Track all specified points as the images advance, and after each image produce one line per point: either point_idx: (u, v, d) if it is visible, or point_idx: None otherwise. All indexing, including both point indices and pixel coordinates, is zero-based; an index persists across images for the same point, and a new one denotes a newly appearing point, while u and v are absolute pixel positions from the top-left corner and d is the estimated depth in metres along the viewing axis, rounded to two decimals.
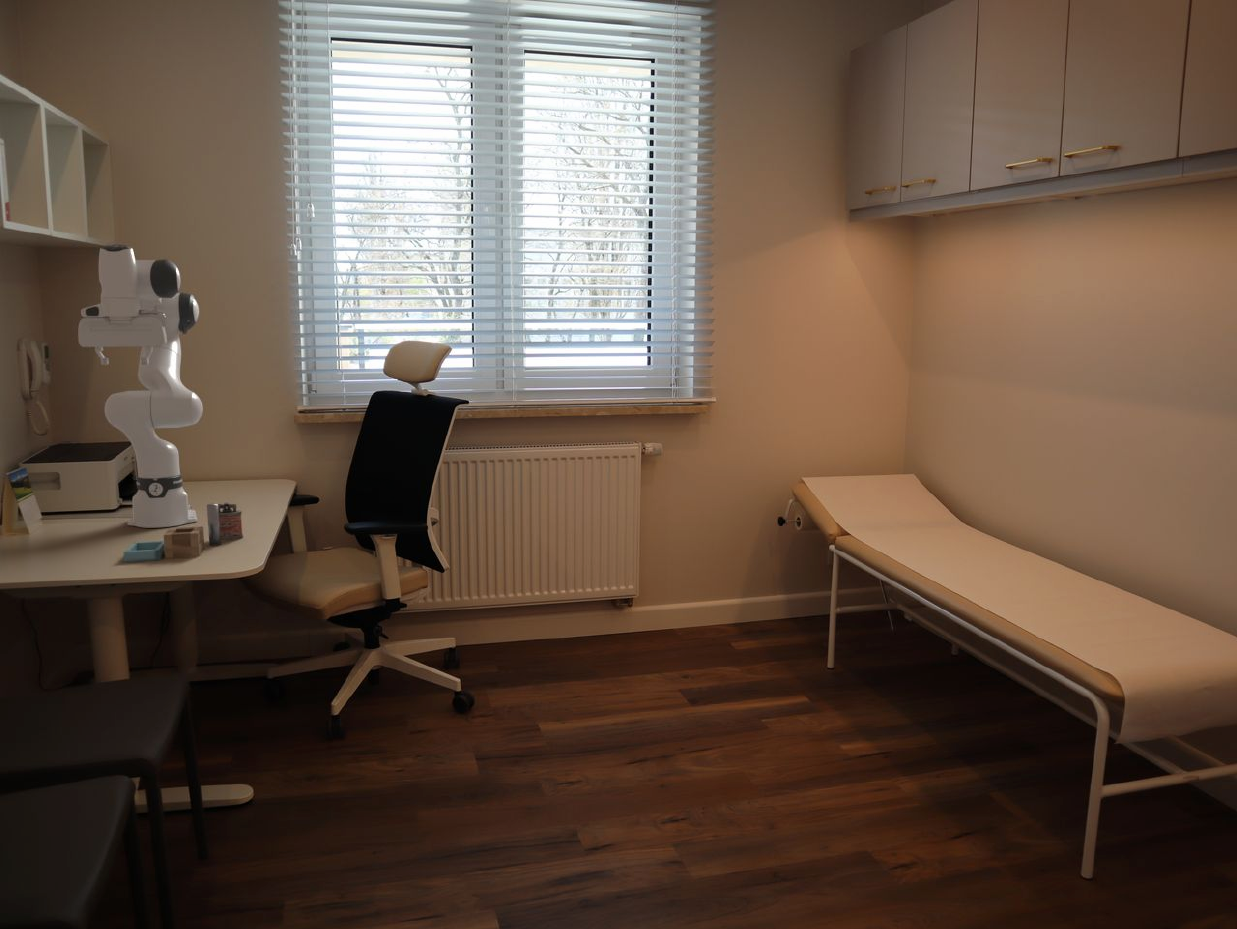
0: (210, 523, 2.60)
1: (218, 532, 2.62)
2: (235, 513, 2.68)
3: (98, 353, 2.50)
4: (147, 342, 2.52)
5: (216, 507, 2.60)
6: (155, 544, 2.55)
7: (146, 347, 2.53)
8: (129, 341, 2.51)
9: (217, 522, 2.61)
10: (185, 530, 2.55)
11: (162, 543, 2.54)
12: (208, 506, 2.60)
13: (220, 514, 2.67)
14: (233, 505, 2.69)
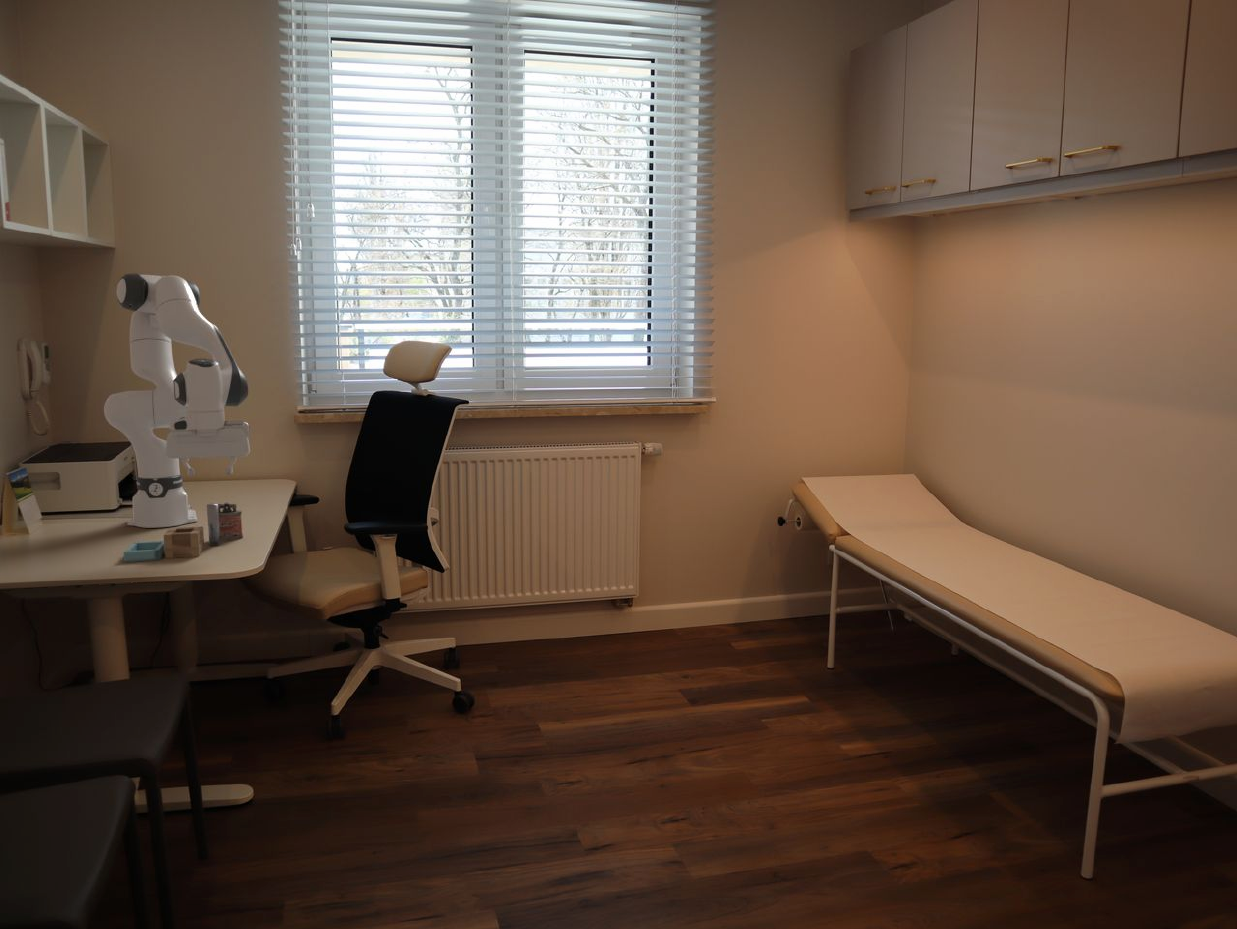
0: (210, 523, 2.60)
1: (218, 532, 2.62)
2: (235, 513, 2.68)
3: (185, 464, 2.57)
4: (232, 453, 2.58)
5: (216, 507, 2.60)
6: (155, 544, 2.55)
7: (231, 457, 2.59)
8: (215, 452, 2.57)
9: (217, 522, 2.61)
10: (185, 530, 2.55)
11: (162, 543, 2.54)
12: (208, 506, 2.60)
13: (220, 514, 2.67)
14: (233, 505, 2.69)
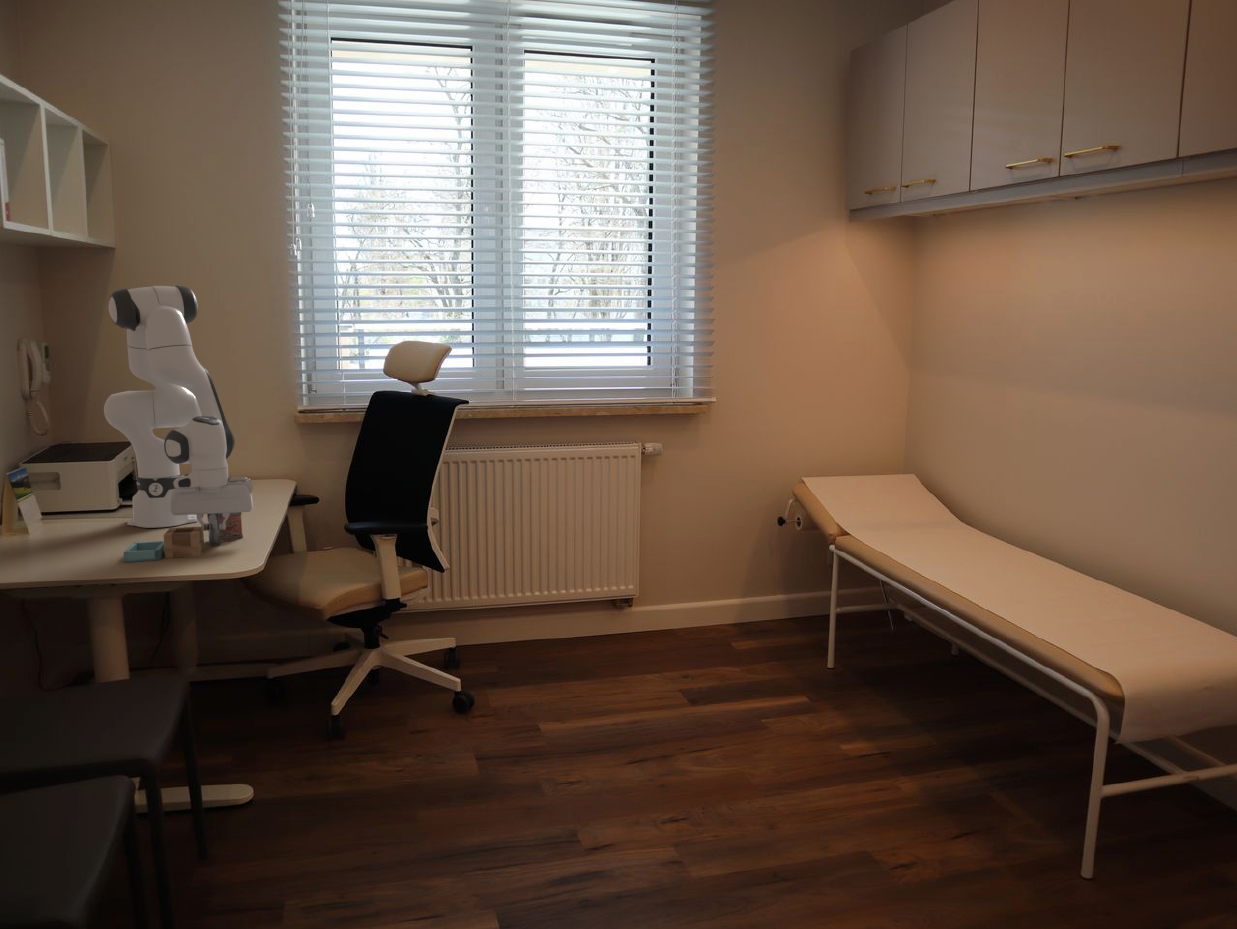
0: (210, 523, 2.60)
1: (218, 532, 2.62)
2: (235, 513, 2.68)
3: (199, 520, 2.60)
4: (235, 509, 2.61)
5: None
6: (155, 544, 2.55)
7: (224, 514, 2.61)
8: (218, 509, 2.60)
9: (217, 522, 2.61)
10: (185, 530, 2.55)
11: (162, 543, 2.54)
12: None
13: (220, 514, 2.67)
14: None
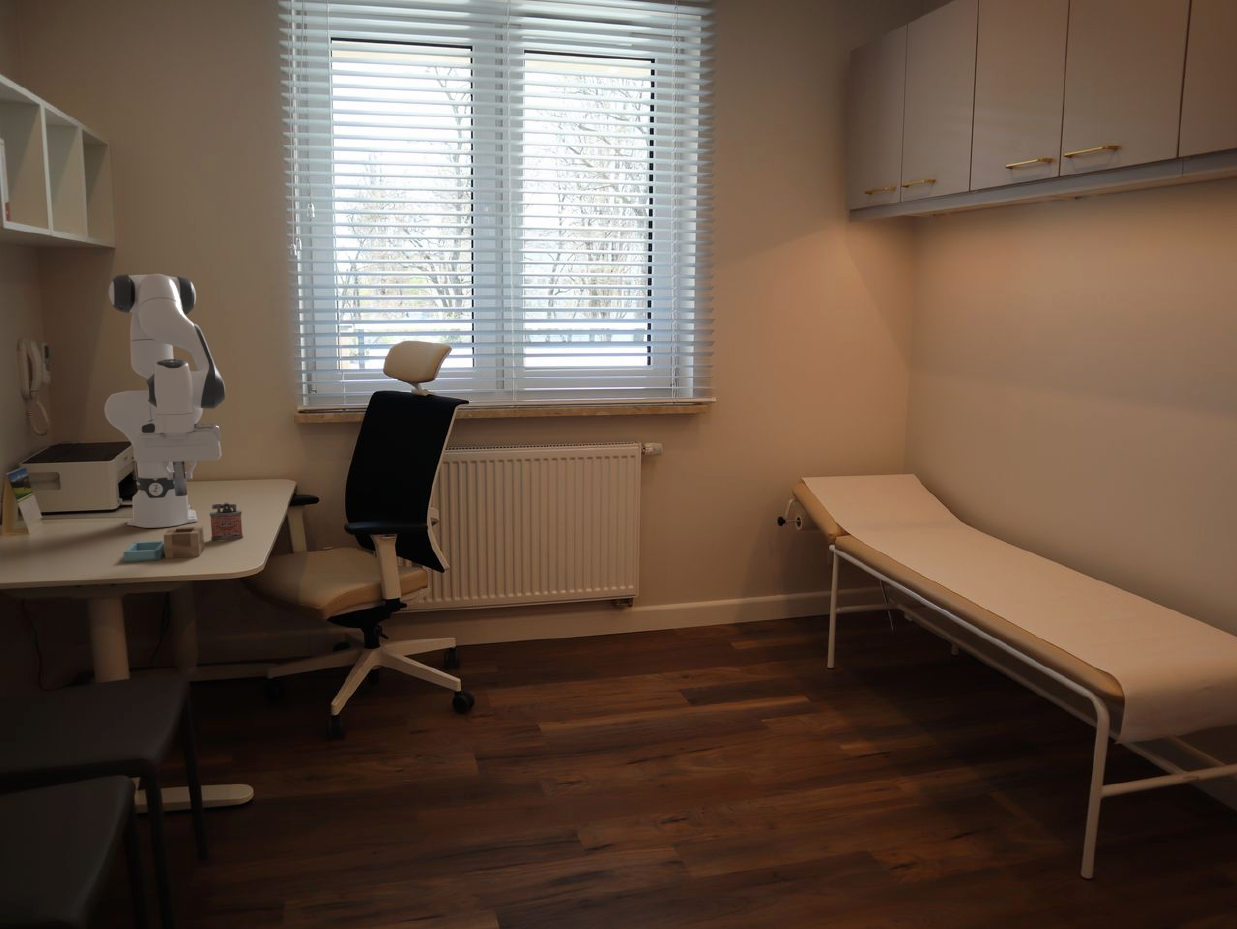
0: (176, 472, 2.49)
1: (184, 481, 2.50)
2: (235, 513, 2.68)
3: (164, 468, 2.48)
4: (202, 457, 2.49)
5: None
6: (155, 544, 2.55)
7: (190, 462, 2.50)
8: (184, 456, 2.48)
9: (183, 471, 2.50)
10: (185, 530, 2.55)
11: (162, 543, 2.54)
12: None
13: (220, 514, 2.67)
14: (233, 505, 2.69)
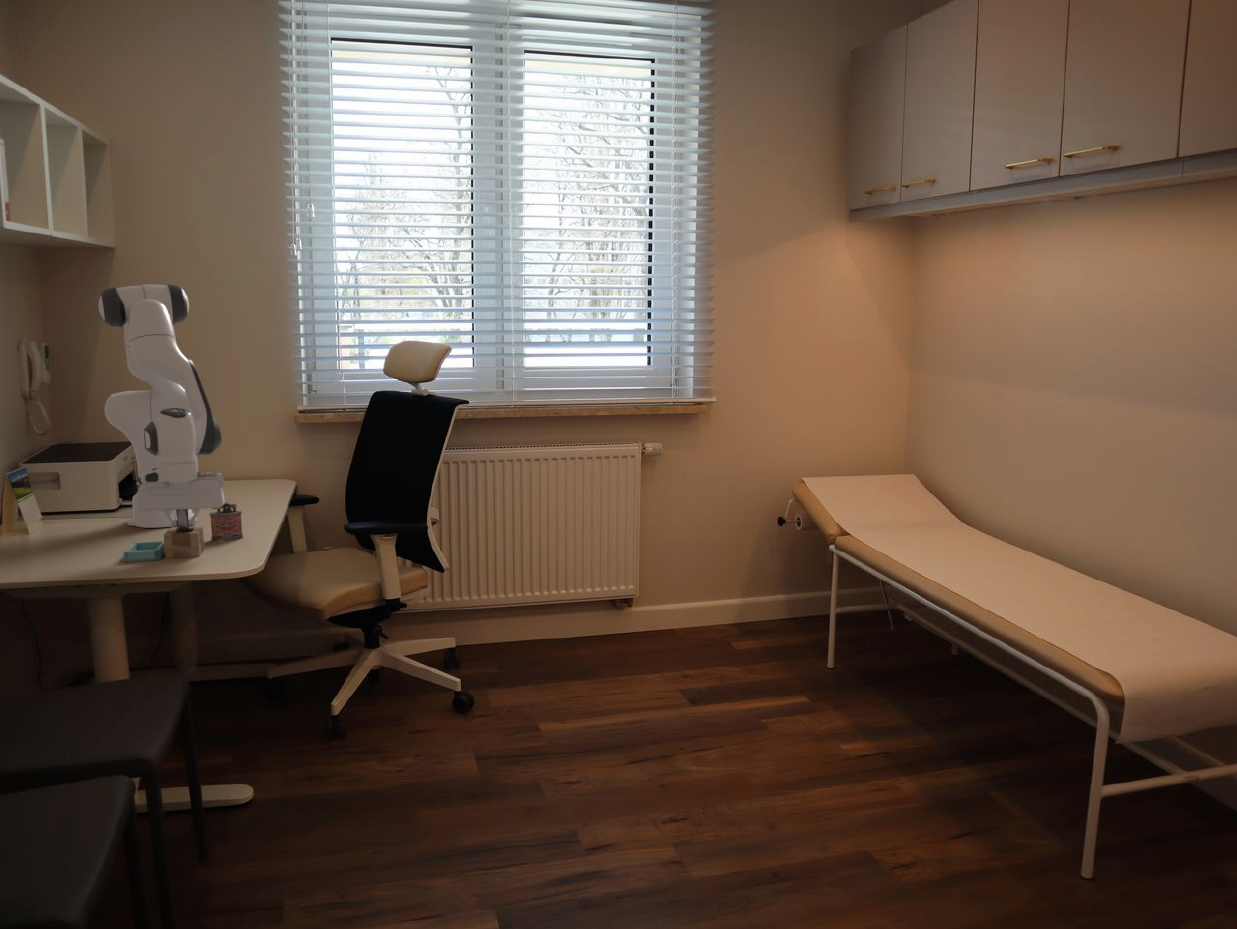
0: (179, 519, 2.51)
1: (187, 529, 2.52)
2: (235, 513, 2.68)
3: (168, 516, 2.50)
4: (205, 505, 2.51)
5: None
6: (155, 544, 2.55)
7: (193, 509, 2.51)
8: (188, 504, 2.50)
9: (186, 518, 2.51)
10: None
11: (162, 543, 2.54)
12: None
13: (220, 514, 2.67)
14: (233, 505, 2.69)
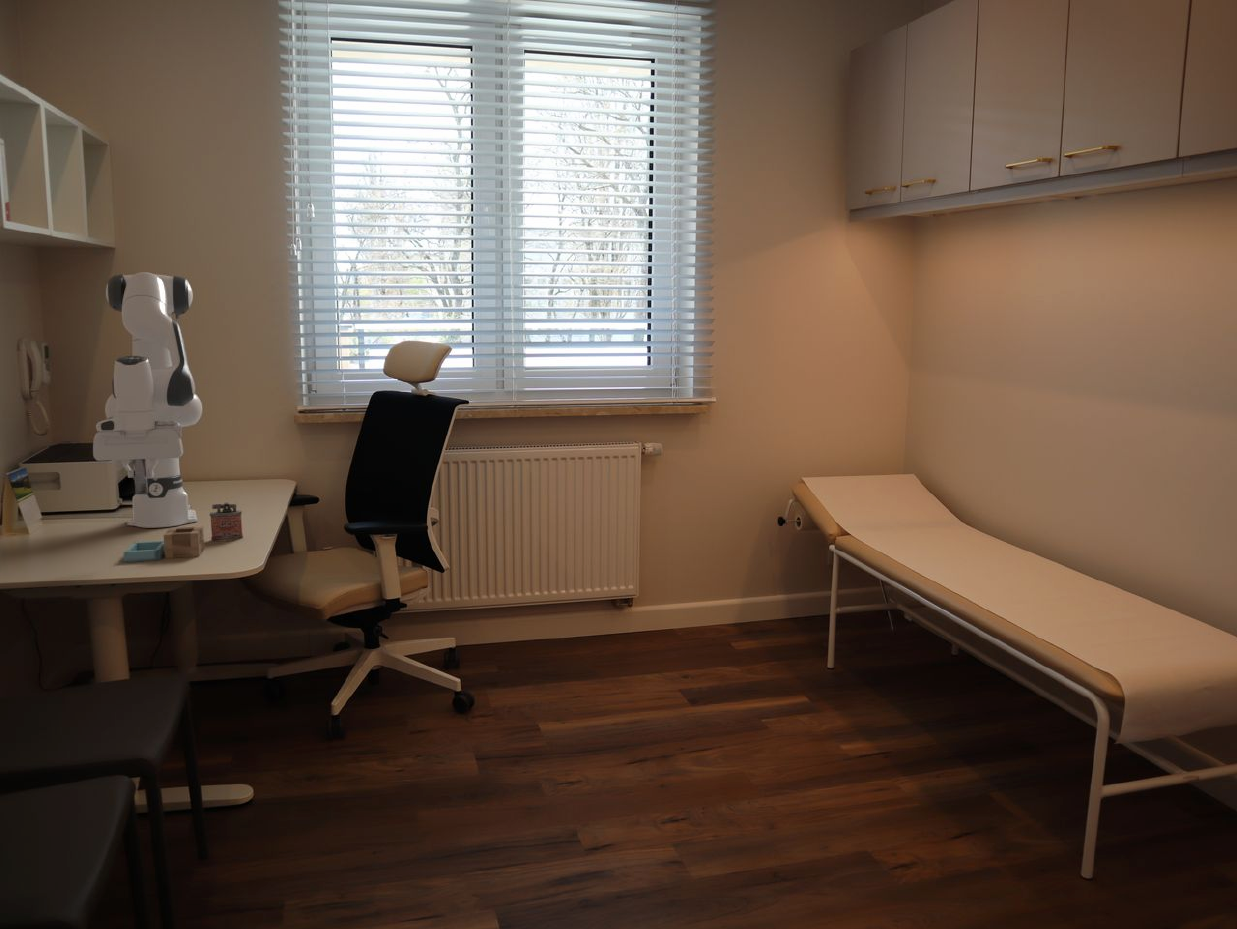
0: (136, 470, 2.46)
1: (145, 479, 2.47)
2: (235, 513, 2.68)
3: (125, 466, 2.46)
4: (163, 455, 2.47)
5: None
6: (155, 544, 2.55)
7: (151, 460, 2.47)
8: (145, 454, 2.46)
9: (144, 469, 2.47)
10: (185, 530, 2.55)
11: (162, 543, 2.54)
12: None
13: (220, 514, 2.67)
14: (233, 505, 2.69)
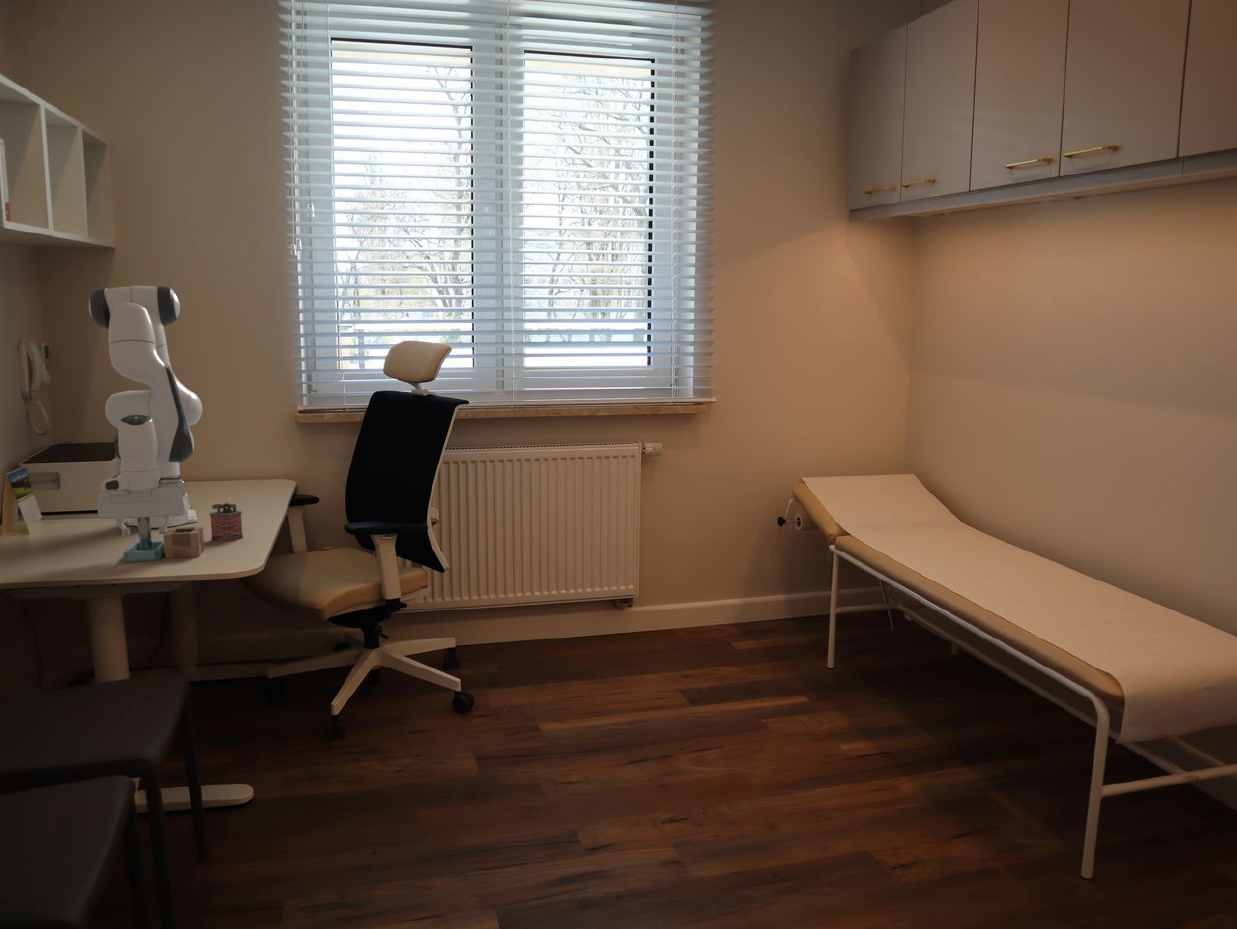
0: (141, 531, 2.48)
1: (149, 540, 2.50)
2: (235, 513, 2.68)
3: (119, 525, 2.47)
4: (167, 513, 2.49)
5: None
6: (155, 544, 2.55)
7: (164, 517, 2.50)
8: (149, 512, 2.48)
9: (148, 530, 2.49)
10: (185, 530, 2.55)
11: (162, 543, 2.54)
12: None
13: (220, 514, 2.67)
14: (233, 505, 2.69)
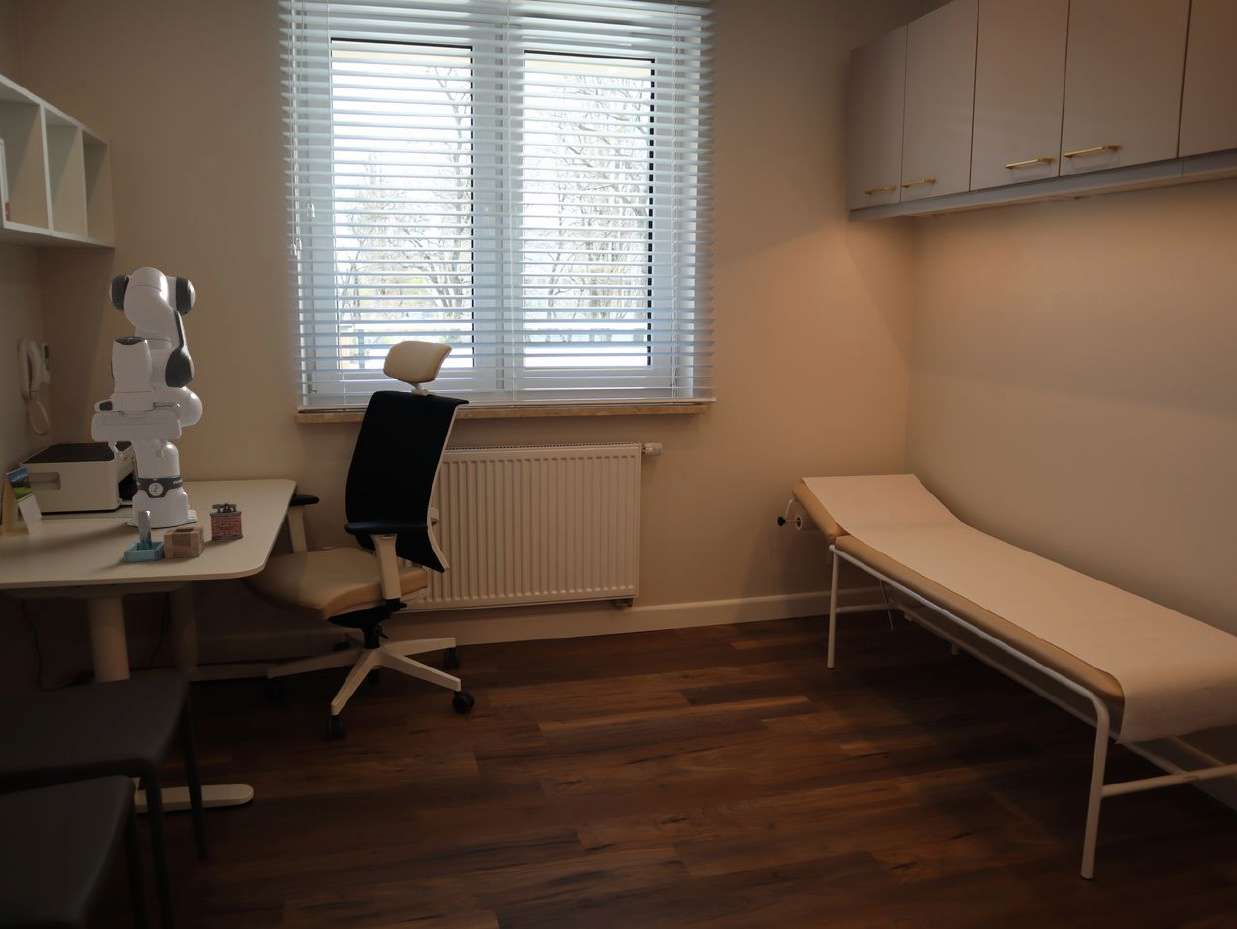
0: (141, 531, 2.48)
1: (150, 540, 2.50)
2: (235, 513, 2.68)
3: (111, 447, 2.44)
4: (161, 436, 2.46)
5: (147, 514, 2.49)
6: (155, 544, 2.55)
7: (161, 440, 2.47)
8: (143, 435, 2.45)
9: (148, 530, 2.49)
10: (185, 530, 2.55)
11: (162, 543, 2.54)
12: (139, 514, 2.48)
13: (220, 514, 2.67)
14: (233, 505, 2.69)
